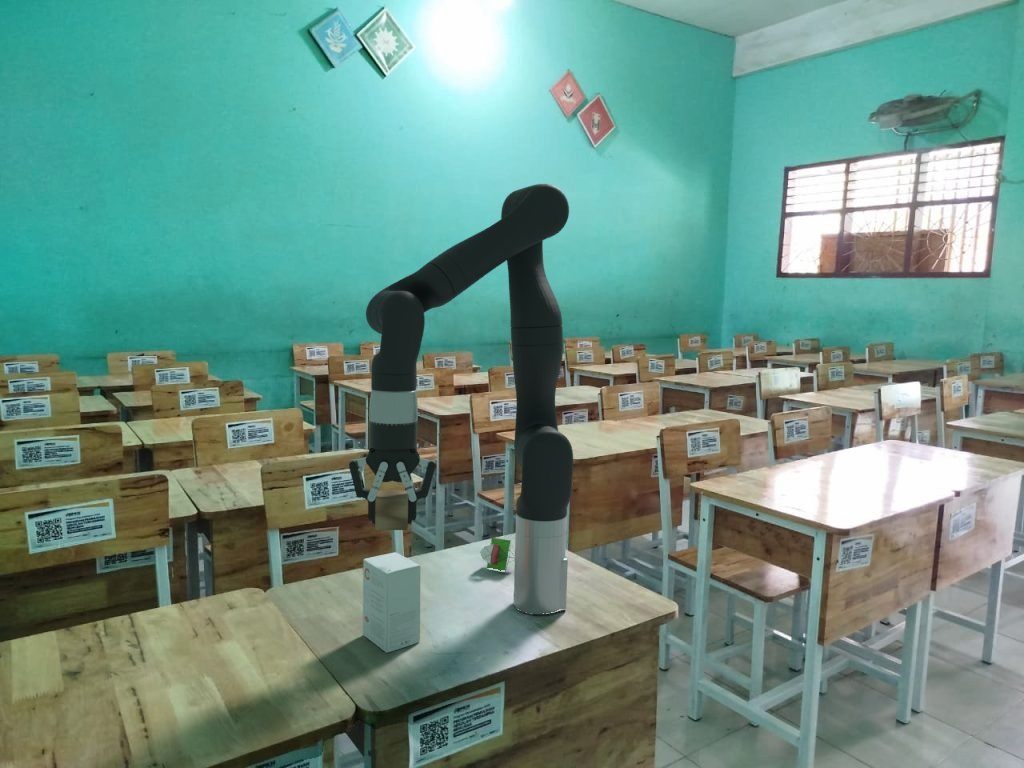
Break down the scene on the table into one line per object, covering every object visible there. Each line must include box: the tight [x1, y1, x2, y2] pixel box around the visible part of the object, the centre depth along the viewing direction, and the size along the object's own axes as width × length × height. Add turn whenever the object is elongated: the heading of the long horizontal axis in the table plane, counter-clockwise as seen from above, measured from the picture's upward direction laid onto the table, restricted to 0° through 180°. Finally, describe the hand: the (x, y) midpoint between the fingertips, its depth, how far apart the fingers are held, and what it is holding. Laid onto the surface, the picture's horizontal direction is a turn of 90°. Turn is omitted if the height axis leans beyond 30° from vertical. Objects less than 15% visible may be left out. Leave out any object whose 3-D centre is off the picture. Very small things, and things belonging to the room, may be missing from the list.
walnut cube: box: [374, 490, 409, 531], centre depth 113 cm, size 5×5×5 cm
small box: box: [362, 551, 421, 653], centre depth 115 cm, size 8×6×13 cm
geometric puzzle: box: [479, 537, 515, 571], centre depth 147 cm, size 7×7×8 cm
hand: (392, 522), depth 113 cm, fingers closed on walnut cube, 5 cm apart
